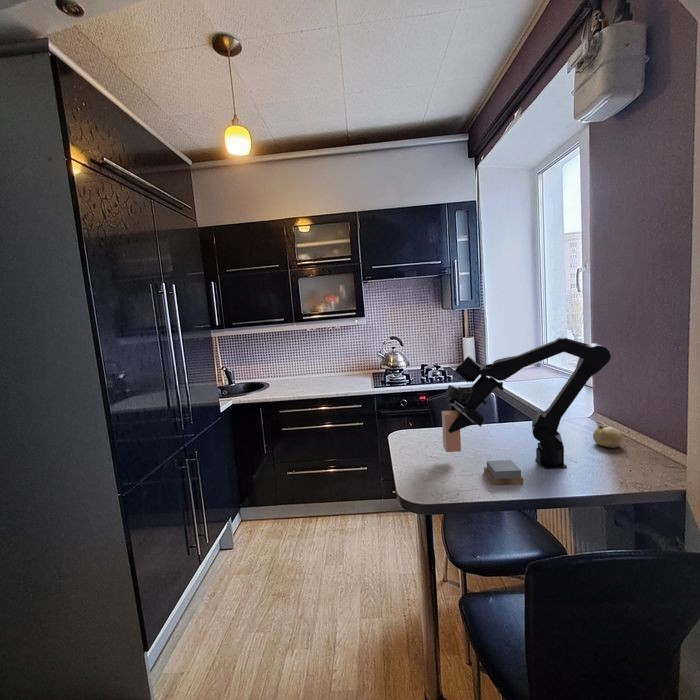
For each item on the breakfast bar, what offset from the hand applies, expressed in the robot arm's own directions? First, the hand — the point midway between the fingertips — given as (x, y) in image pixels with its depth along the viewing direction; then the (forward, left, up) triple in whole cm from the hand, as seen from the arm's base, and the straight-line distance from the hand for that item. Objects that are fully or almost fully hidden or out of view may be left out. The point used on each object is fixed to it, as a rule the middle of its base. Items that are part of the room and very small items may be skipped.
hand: (446, 429), depth 117 cm
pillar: (-1, 0, -7) cm, 7 cm away
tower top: (-13, +13, -9) cm, 20 cm away
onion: (-54, -5, -11) cm, 55 cm away
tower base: (-13, +13, -11) cm, 21 cm away
